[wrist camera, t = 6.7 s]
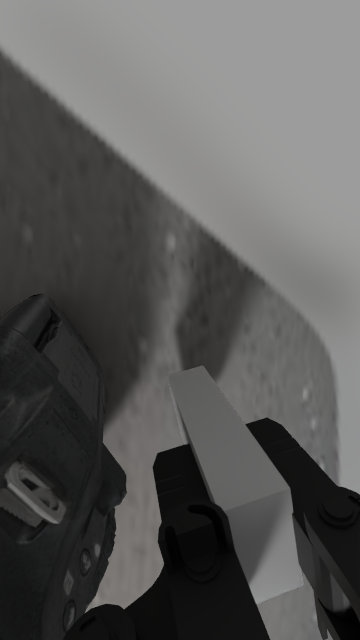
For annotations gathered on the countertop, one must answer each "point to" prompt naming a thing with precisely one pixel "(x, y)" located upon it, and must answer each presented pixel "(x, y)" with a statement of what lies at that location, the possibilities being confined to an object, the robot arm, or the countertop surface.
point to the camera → (51, 474)
